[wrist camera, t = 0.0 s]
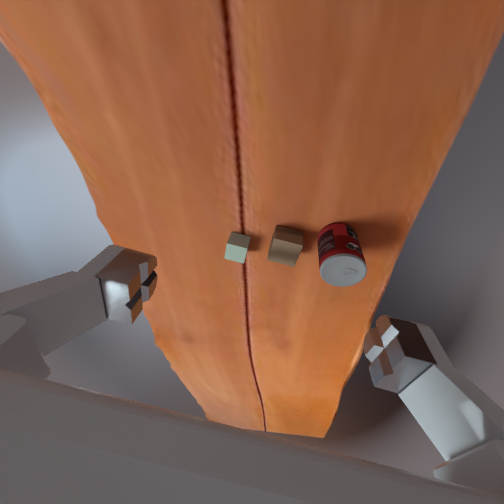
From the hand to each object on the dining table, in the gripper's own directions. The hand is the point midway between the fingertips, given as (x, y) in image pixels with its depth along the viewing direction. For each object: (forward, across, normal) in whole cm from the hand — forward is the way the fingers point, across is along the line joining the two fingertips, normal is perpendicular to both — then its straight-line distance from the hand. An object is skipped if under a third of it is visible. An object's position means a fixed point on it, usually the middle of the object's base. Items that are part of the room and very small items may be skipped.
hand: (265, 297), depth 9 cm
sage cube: (+42, +4, +25) cm, 49 cm away
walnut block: (+41, -6, +21) cm, 47 cm away
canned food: (+41, -16, +17) cm, 47 cm away
